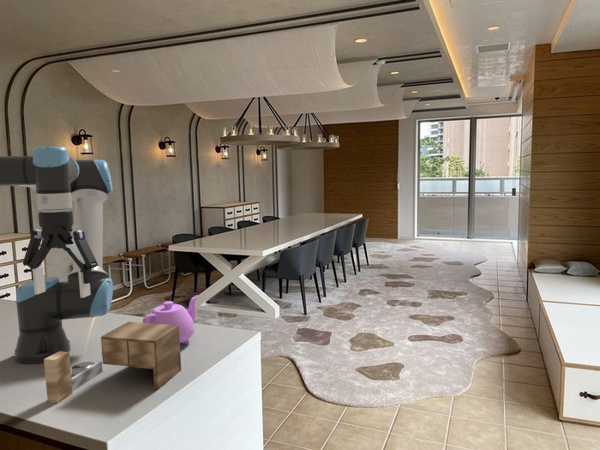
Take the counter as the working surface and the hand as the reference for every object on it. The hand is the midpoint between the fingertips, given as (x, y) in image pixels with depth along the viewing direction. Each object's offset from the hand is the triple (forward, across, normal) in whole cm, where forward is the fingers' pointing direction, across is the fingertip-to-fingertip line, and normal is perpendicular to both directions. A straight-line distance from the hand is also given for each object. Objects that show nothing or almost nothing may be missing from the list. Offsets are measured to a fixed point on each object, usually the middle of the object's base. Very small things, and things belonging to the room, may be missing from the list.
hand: (62, 294), depth 117 cm
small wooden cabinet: (+25, +14, +11) cm, 31 cm away
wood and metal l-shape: (+25, +1, +2) cm, 26 cm away
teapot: (+26, +9, +36) cm, 45 cm away
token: (+26, -3, +9) cm, 27 cm away
